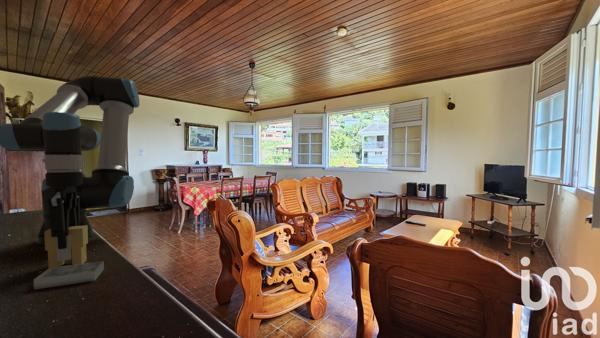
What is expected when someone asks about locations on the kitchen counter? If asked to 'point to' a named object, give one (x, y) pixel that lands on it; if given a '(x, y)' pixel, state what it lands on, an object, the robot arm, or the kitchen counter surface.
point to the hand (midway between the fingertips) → (68, 256)
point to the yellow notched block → (77, 244)
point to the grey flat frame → (69, 274)
